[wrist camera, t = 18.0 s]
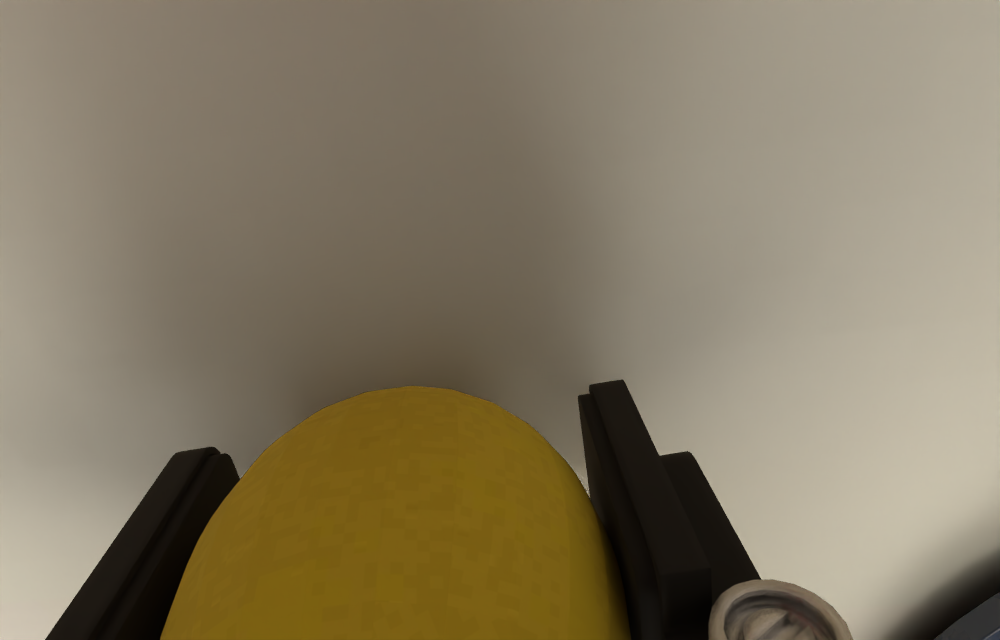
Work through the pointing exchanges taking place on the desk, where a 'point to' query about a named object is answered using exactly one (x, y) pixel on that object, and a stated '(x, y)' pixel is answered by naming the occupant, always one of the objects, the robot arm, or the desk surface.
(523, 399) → the desk surface
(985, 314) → the desk surface
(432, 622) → the lemon
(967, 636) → the lid
